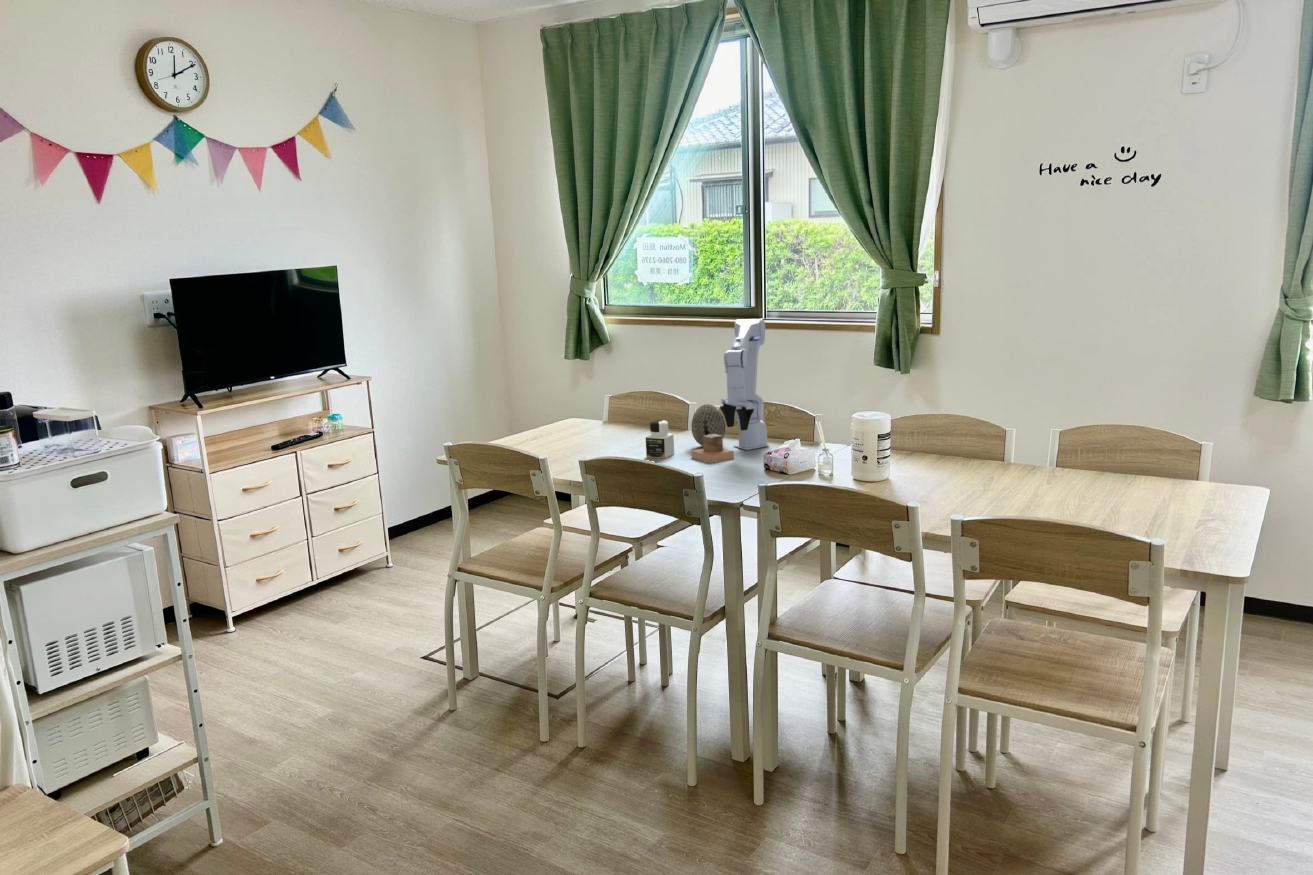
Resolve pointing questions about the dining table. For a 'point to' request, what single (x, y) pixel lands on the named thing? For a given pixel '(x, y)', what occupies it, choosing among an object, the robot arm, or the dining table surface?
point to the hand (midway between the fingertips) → (737, 428)
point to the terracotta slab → (712, 455)
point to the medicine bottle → (659, 440)
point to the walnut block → (712, 443)
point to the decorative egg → (707, 422)
